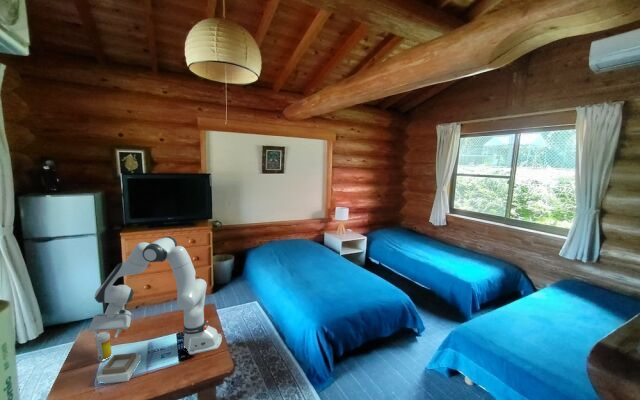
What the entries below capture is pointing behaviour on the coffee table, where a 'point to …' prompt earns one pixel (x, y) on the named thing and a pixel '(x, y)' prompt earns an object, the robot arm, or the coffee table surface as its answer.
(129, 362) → the display plinth
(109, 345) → the beer can
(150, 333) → the coffee table surface
